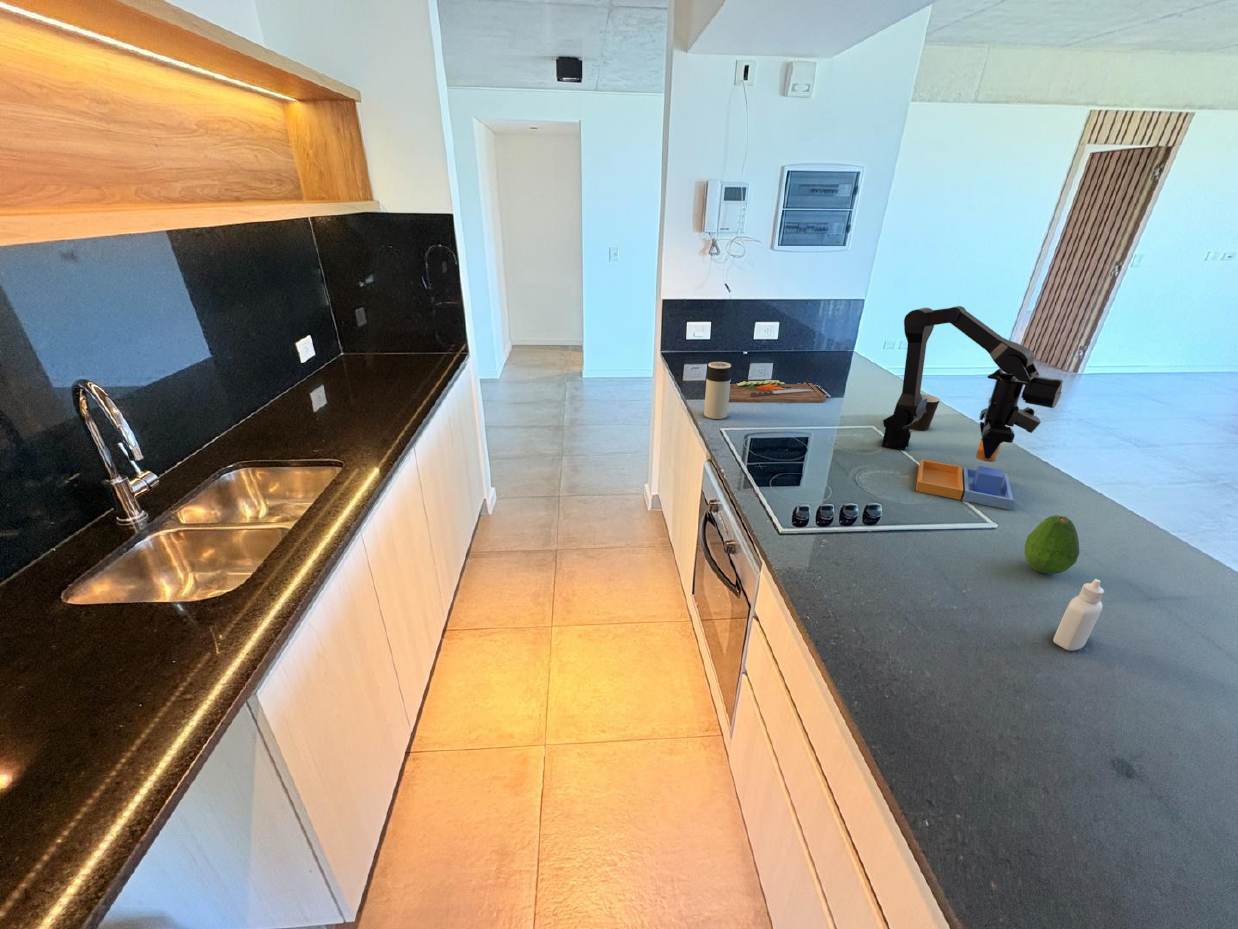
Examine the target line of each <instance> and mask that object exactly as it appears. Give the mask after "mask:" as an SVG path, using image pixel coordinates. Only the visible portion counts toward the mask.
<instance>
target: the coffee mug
mask: <svg viewBox="0 0 1238 929" xmlns="http://www.w3.org/2000/svg"><path fill="white" fill-rule="evenodd" d="M921 396H922V399H927V403H926V412H925V413H924V414H923V416H922V417H921V418H920V419H919V420H917V421H915V422H914V423H913V424H912V425H909V426H910V430H914V431H918V432H920V431H921V432H924V431H927V430H929V428H930V426H931V424H932V422H933V419H934V416H935V413H936V411H937V408H938V406H939V404H940V401H941V398H939V397H937V396H935V395H931V394H925V393H921Z"/></svg>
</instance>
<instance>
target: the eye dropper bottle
mask: <svg viewBox="0 0 1238 929" xmlns="http://www.w3.org/2000/svg"><path fill="white" fill-rule="evenodd" d="M1104 594H1105V590H1104V589H1103V587H1102V586H1101V580H1100V579H1097V578H1094V579H1093V581H1092V582H1089V583H1088V582H1087V583H1084V584H1083V585H1082V587H1081V590H1080V591H1079V594H1078V595H1075V596H1074V597H1073V598H1072V599H1071V600H1070V601H1069V603H1068V605H1067V607H1066V609H1065V612H1064V613H1063V616H1062V618H1061V620H1060V623H1059V626H1058V627H1057V630H1056V632H1055V634H1054V636H1053V643H1054V644H1055V645H1057V646H1059V647H1060V648H1062V649H1063V650H1065V651H1070V652H1071V651H1072V652H1073V651H1078V650H1080V649H1083V647H1084V646H1085V645H1086V644H1087V642H1088V640H1089V638H1090V635H1091V633H1092V631H1093V629H1094V627H1095V625H1096V623H1097V621H1098V619H1099V617H1100V615H1101V613H1102V610H1103V603H1102V601H1101V600H1102V598H1103V596H1104Z"/></svg>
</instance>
